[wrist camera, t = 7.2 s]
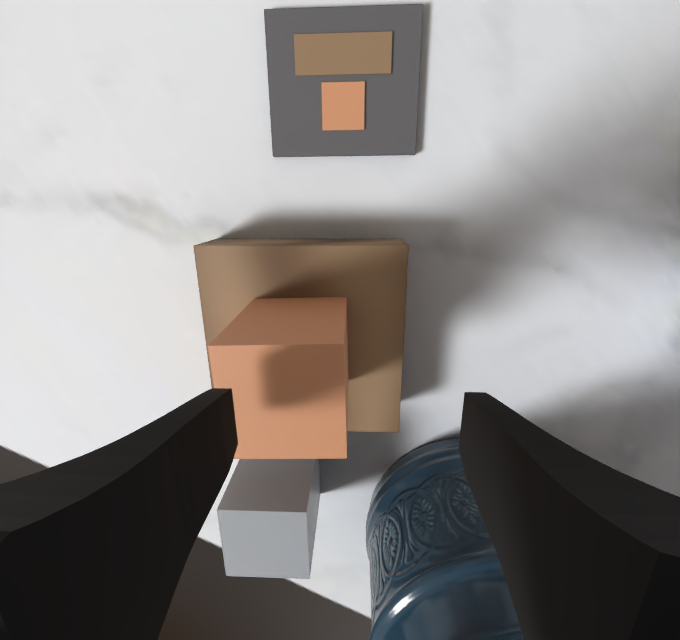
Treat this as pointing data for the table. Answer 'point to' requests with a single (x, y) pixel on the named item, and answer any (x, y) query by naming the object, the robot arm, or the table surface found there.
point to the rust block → (287, 377)
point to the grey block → (270, 518)
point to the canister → (434, 555)
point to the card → (343, 79)
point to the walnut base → (321, 281)
